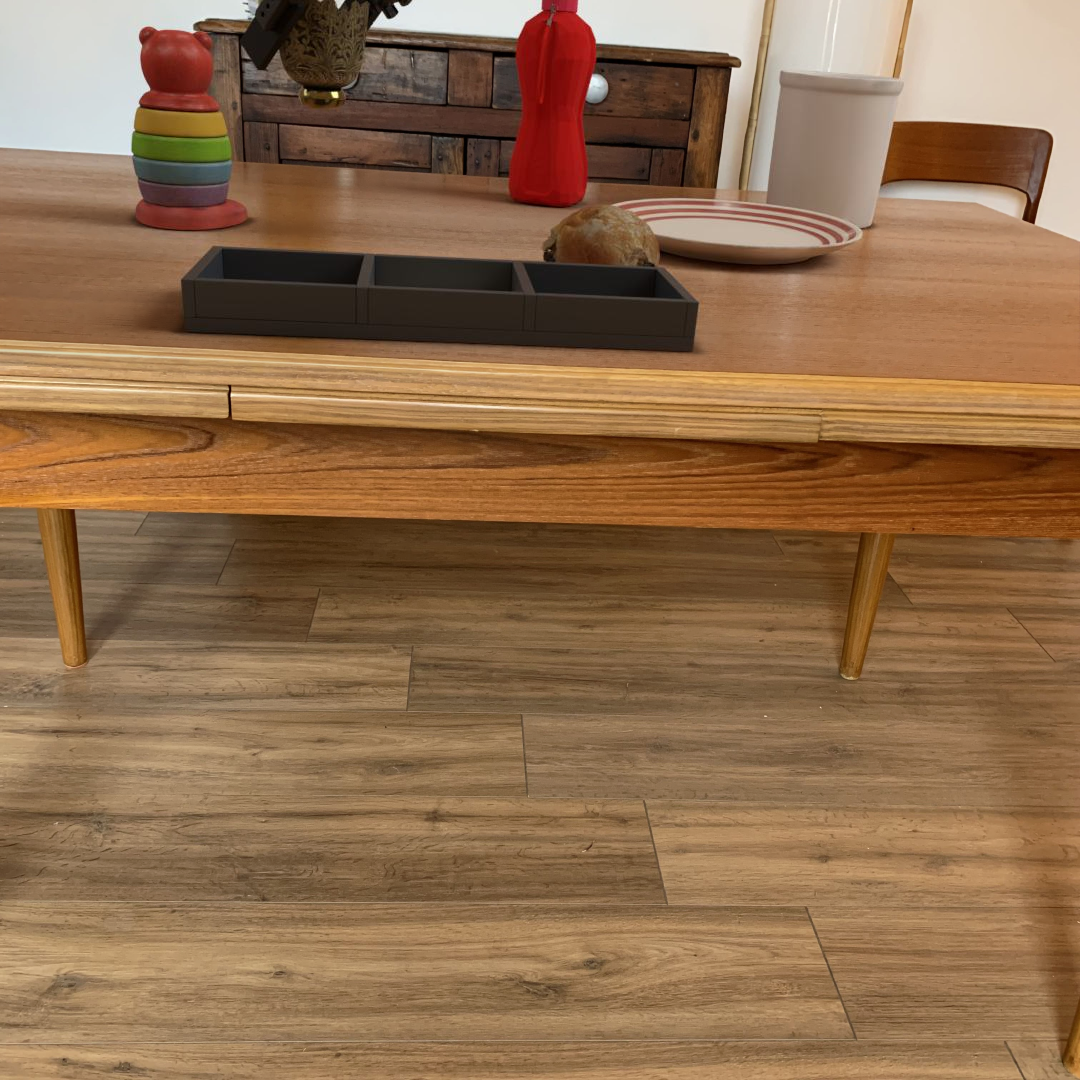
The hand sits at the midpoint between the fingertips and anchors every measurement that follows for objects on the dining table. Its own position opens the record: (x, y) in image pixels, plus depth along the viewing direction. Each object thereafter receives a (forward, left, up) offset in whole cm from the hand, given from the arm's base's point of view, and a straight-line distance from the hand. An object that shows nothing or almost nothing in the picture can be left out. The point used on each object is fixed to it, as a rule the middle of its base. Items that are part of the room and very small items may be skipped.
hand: (290, 56), depth 88 cm
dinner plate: (+47, +10, -17) cm, 50 cm away
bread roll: (+26, -4, -17) cm, 32 cm away
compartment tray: (+8, -20, -17) cm, 27 cm away
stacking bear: (-9, +21, -17) cm, 28 cm away
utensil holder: (+69, +30, -17) cm, 77 cm away
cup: (+2, -3, -4) cm, 5 cm away
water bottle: (+35, +40, -17) cm, 56 cm away
